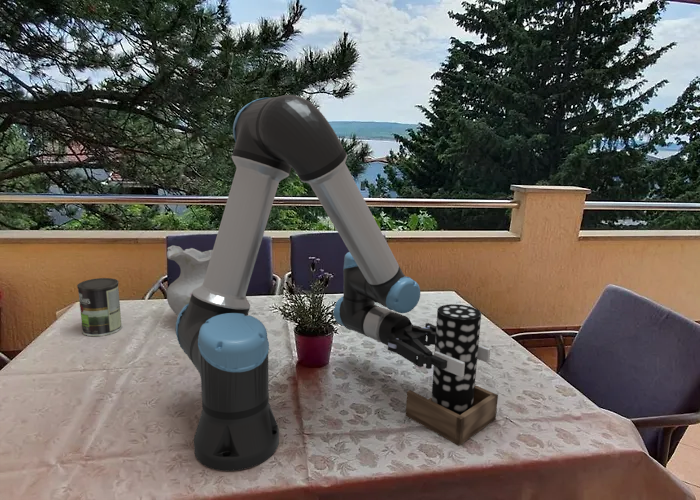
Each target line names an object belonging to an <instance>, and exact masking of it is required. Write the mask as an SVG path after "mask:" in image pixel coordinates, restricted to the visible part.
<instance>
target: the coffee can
mask: <svg viewBox="0 0 700 500" xmlns="http://www.w3.org/2000/svg"><path fill="white" fill-rule="evenodd" d="M76 287H77V292H78V298H79V299H78V301H79V310H80V318H81V327H82V331H81V333H82V334H83V335H84V336H86V335H87V337H96V338H97V337H104V336H105V337H106V336H111V335H113V334H115V333H118V332H119V331H121V329H122V328H123V326H122V317H121V316H122V315H121V305H120V303H121V302H120V294H119V293H120V292H119V280H118V279H117V278H116V279H115V278H110V277H99V278H92V279H87V280H84V281H81V282H79V283H77V284H76Z"/></svg>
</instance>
